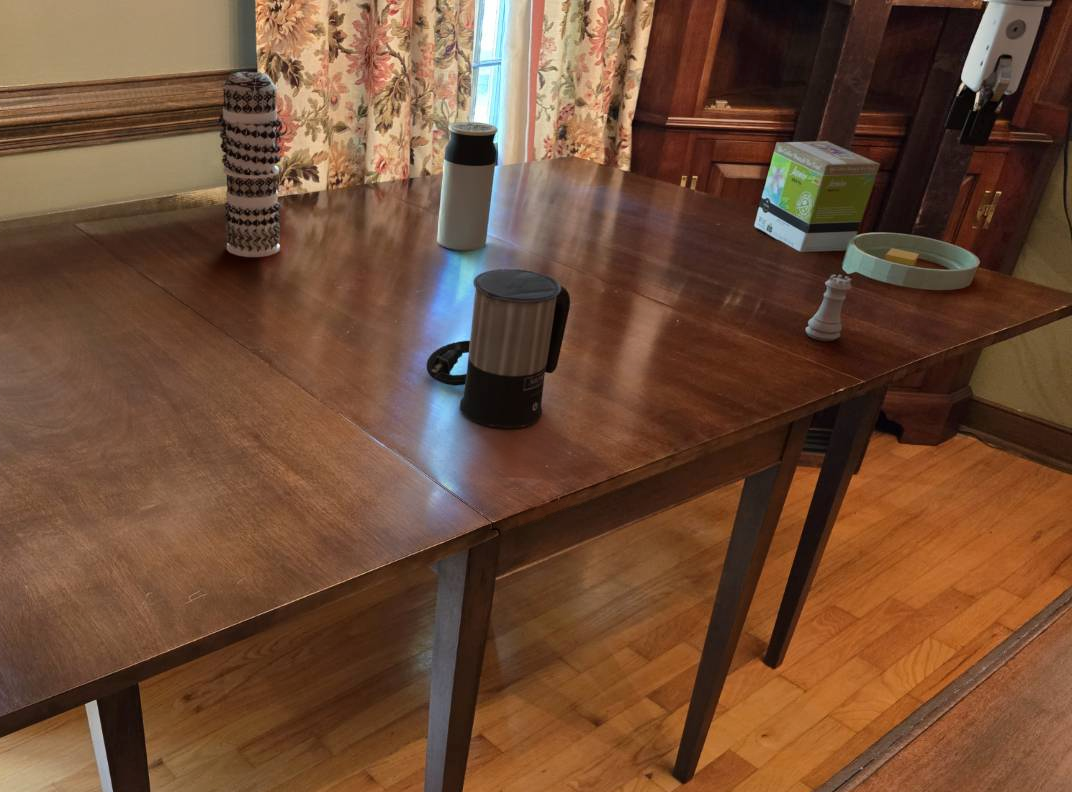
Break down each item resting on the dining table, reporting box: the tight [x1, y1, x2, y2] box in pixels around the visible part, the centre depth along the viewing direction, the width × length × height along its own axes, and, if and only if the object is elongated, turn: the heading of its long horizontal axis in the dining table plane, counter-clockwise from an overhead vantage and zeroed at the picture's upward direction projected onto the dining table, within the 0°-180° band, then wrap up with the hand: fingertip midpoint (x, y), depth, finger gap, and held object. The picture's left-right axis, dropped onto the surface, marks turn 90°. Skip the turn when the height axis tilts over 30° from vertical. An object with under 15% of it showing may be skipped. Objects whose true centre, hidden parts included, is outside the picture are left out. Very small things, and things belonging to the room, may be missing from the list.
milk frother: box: [426, 268, 571, 429], centre depth 107 cm, size 14×16×15 cm
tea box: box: [754, 140, 881, 253], centre depth 161 cm, size 15×10×15 cm
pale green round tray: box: [841, 232, 981, 291], centre depth 149 cm, size 18×18×4 cm
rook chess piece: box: [805, 274, 853, 342], centre depth 128 cm, size 4×4×8 cm
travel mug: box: [436, 121, 498, 252], centre depth 152 cm, size 8×8×18 cm
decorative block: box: [884, 248, 919, 267], centre depth 147 cm, size 4×4×4 cm
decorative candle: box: [217, 71, 283, 258], centre depth 144 cm, size 9×9×25 cm
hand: (963, 137), depth 127 cm, fingers open, 9 cm apart
